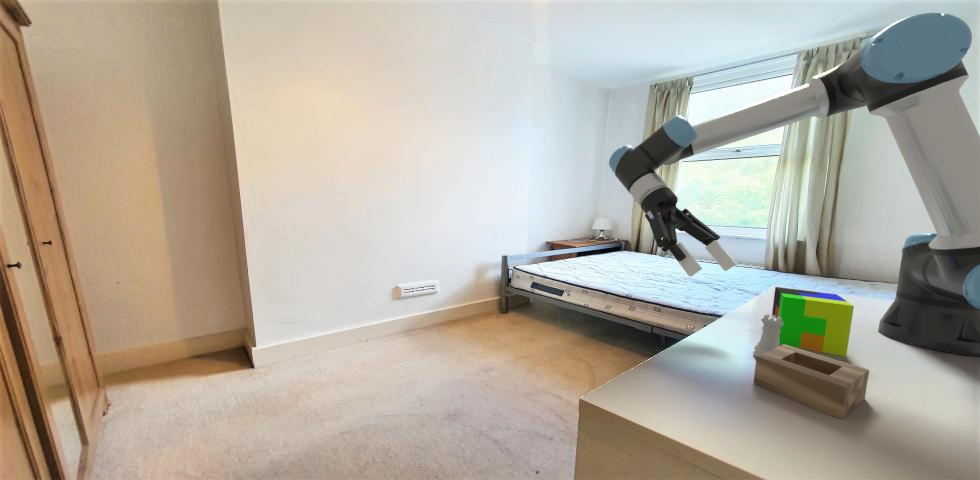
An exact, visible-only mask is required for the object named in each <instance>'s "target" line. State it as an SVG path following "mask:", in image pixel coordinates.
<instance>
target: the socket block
mask: <svg viewBox="0 0 980 480" xmlns="http://www.w3.org/2000/svg"><path fill="white" fill-rule="evenodd" d="M755 358H756V360H755V365H754V366H755V367H754V375H753V384H754V385H756V386H759V387H762V388H764V389H766V390H769V391H771V392H773V393H776V394H778V395H780V396H783V397H786V398H789V399H790V400H793V401H796V402H798V403H801V404H804V405H806V406H809V407H811V408H813V409H816V410H818V411H821V412H822V413H826V414H828V415H830V416H832V417H836V418H838V419H841V420H842V419H844V418H845V417H846V416H847V415H848V414H849V413H850V412H851V411H853V410H854V409H855V408H856V407H857V406H858V405H859V404H861V403H862V402H863V401H864V400H865V399H866V393H867V387H868V380H869V375H870V369H867V368H865V367H861V366H858V365H854V364H851V363H849V362H845V361H841V360H838V359H834V358H831V357H828V356H825V355H822V354H818V353H815V352H812V351H808V350H806V349H803V348H798V347H793V346H788V345H785V344H783V345H782V344H780V346H779V347H777V348H774V349H772V350H770V351H768V352H765V353H763V354H761V355H759V356H757V357H755Z"/></svg>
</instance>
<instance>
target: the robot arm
mask: <svg viewBox="0 0 980 480" xmlns="http://www.w3.org/2000/svg"><path fill="white" fill-rule="evenodd" d="M972 41H973V34H972V31H971V28H970V26H969V25H968V24H967V22H965V21H964V20H963V19H962V18H961V17H958V16H956V15H953V14H949V13H940V12H924V13H917V14H914V15H910V16H907V17H905V18H902V19H900V20H898V21H896V22H893V23H892V24H890V25H888V26H887V27H885V28H884V29H883V30H881V31H879V32H878V33H876V34H875V35H873V36H872V37H871V38H870V39H869V40H868V41H867V42H866V43H865V44H864V45H863V46H862V47H860V49H859V50H857V51H856V52H855V53H854V54H853V55H852V56H850V57H849V58H847V59H846V60H845V61H843V62H842V63H840V64H839V65H836V66H834V67H833V68H831V69H829V70H828V71H825V72H822V73H821V74H817V75H815V76H812V77H811V78H809V80H808V81H807V83H805V84H804V85H801V86H798V87H796V88H793V89H790V90H787V91H784V92H782V93H779V94H776V95H774V96H770V97H767V98H765V99H762V100H760V101H757V102H755V103H751V104H749V105H746V106H743V107H740V108H739V109H735V110H732V111H730V112H728V113H724V114H721V115H719V116H717V117H716V116H715V117H713V118H711V119H707V120H706V121H703V122H702V121H701V122H700V123H698V124H694V125H692V124H691V123H690V122H689V121H688V120H687V119H686V118H684V117H683V116H682V115H675V116H673V117H672V118H670V119H669V120H668V121H667V122H664V123H663V124H662V125H661V126H660V127H659V128H657V130H655V131H654V132H653V133H652V134H651V135H649V136H648V137H647V138H646V139H644V140H643V141H642V142H641V143H639V144H638V145H636V146H635V147H634V146H632V145H629V144H627V145H623V146H622V147H619V148H617V149H616V150H614V151H613V153H612V154H611V156H610V157H609V160H608V166H609V168H610V169H611V171H612V172H613V173H614V176H615V177H616V179H618V180H619V182H620V184H622V186H623V187H624V188H625V189H626V191H627V192H628V193H629V194H630V195H631V196H632V198H633V200H634V202H636V203H637V205H639V206H640V209H641V210H642V211H643V213H644V217H645V219H646V220H647V222H648V224H649V226H650V230H651V232H652V235H653V237H654V238H653V239H654V241H655V243H656V246H657V247H658V248H660V250H661V251H662V252H663V253H666V252H668V251H669V252H670V253H671V254H672V257H674V258H675V260H676V261H677V262H678V264H679V265H680V266H681V267H682V269H683V270H684V272H685V273H686V274H687V276H688V277H689V278H690V277H693V276H694V275H696V274H697V273H698V272H700V271H701V270H702V269H703V267H702V266H701V265H700V264H699V262H698V261H697V260H696V259H695V257H694V256H693V255H692V253H690V251H688V249H687V248H686V246H685V245H684V244H683V242H678V238H677V232H676V231H677V230H678V231H679V232H685V233H686V234H688V235H689V236H691V237H692V238H694V239H695V240H696V241H698V242H700V243H701V244H702V245H705V247H704V248H705V249H706V251H707V252H708V253H709V255H711V257H712V258H713V259H714V260H715V261H716V263H717V265H719V266H720V267H721V268H722V269H723V271H724V272H727V271H729V270H730V269H731V268H733V267H734V266H736V265H737V264H738V262H736V261H735V260H734V258H733V257H732V256H731V255H730V254H729V253H728V252H727V250H726V249H725V248H724V247H723V246H722V244H720V243H719V241H718V240H720V238H721V236H720V235H719V234H718V233H716V232H715V231H713V230H712V229H711V228H710V227H709V226H708V225H706V224H705V223H703V222H702V221H701V220H700V219H699V218H697V217H696V216H695V215H693V213H692V212H691V211H689V210H688V209H687V208H683V209H682V210H681V209H679V208H678V207H677V203H678V201H679V199H678V196H677V195H676V194H675V193H674V192H673V190H672V189H671V188H670V187H668V185H667V183H666V182H665V181H664V180H663V179H662V177H660V175H658V173H657V172H656V170H657V169H659V168H660V167H662V166H663V165H664V166H668V165H669V166H670V165H674V164H676V163H678V162H679V161H681V160H684V159H688V158H690V157H693V156H696V155H699V154H701V153H705V152H708V151H711V150H713V149H717V148H720V147H724V146H726V145H727V146H728V145H729V144H733V143H736V142H739V141H742V140H745V139H748V138H751V137H754V136H757V135H760V134H763V133H767V132H770V131H772V130H775V129H779V128H782V127H784V126H788V125H791V124H793V123H798V122H801V121H803V120H807V119H809V118H814V117H816V118H819V119H823V118H827V117H829V116H834V115H837V114H840V113H843V112H847V111H852V110H856V109H860V108H864V107H866V108H867V110H868V112H869V114H870V115H874V116H876V117H877V116H878V117H882V118H884V119H885V120H886V122H887V123H886V124H888V127H889V129H890V131H891V134H892V136H893V138H894V140H895V143H896V145H897V147H898V149H899V152H900V154H901V157H902V158H903V161H904V162H905V165H906V167H907V169H908V171H909V174H910V177H911V179H912V181H913V182H914V185H915V187H916V189H917V191H918V194H919V196H920V198H921V201H922V203H923V205H924V208H925V210H926V212H927V215H928V216H929V218H930V221H931V223H932V225H933V227H934V230H935V232H936V233H929V232H925V233H913V234H911V235H909V236H908V237H906V238H905V241H904V245H903V246H902V249H901V254H902V255H901V260H900V266H899V273H898V280H897V286H896V292H895V298H894V301H893V302H892V303H891V305H890V306H889V307H888V309H887V310H886V312H885V313H884V314H883V316H882V317H881V318H880V320H879V322H878V332H879V333H880V334H883V335H884V336H886V337H888V338H892V339H894V340H897V341H901V342H903V343H907V344H911V345H913V346H914V345H915V346H917V347H923V348H926V349H931V350H936V351H940V352H946V353H952V354H959V355H965V356H974V357H975V356H976V357H977V356H978V357H980V134H979V132H978V129H977V127H976V125H975V123H974V121H973V118H972V116H971V114H970V112H969V110H968V108H967V106H966V103H965V102H964V100H963V97H962V95H961V94H960V90H961V88H962V87H963V85H964V84H965V83H966V82H967V80H968V79H969V78H970V75H969V73H968V71H967V69H966V66H965V65H964V62H963V58H964V57H965V56H966V55H967V53H968V50H969V49H970V48H971V46H972V43H973V42H972Z"/></svg>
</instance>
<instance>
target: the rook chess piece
mask: <svg viewBox="0 0 980 480" xmlns="http://www.w3.org/2000/svg"><path fill="white" fill-rule="evenodd" d="M760 321H761V322H762V324H763V326H762V327H761V329H762V334H761V337H760V340H759V341H758V342H757V343H756V345H755V346H754V348H753V350H754V351H753V352H752V353H753V355H754V356H755V358H757V356H759V355H761V354H763V353H765V352H768V351H770V350H772V349H774V348H777V347H779V346H781V344H780V340H779V335H780V333H781V330H780V327H781V326H783V325H784V323H783V322H782V318H781V317H779V316H777V318H775V315H772V314H771V315H770V314H764V315H763V317H762V318H761V319H760Z"/></svg>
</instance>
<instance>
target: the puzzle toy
mask: <svg viewBox="0 0 980 480" xmlns="http://www.w3.org/2000/svg"><path fill="white" fill-rule="evenodd" d="M771 313H772V314H771V316H772V315H775V318H777V316H779V317H781V318H782V322H783V323H784V325H783V326H781V327H780V330H781V333H780V335H779V340H780V345H783V344H785V345H788V346H792V347H795V348H798V349H802V350H809V351H815V352H819V353H825V354H831V355H836V356H842V357H847V355H848V353H847V352H848V347H849V341H850V336H851V335H850V333H851V328H852V321H853V314H854V304H852V303H851V302H849V301H847V300H846V299H844V298H843V297H842V296H840V295H838V294H836V293H830V292H820V291H811V290H806V289H805V290H804V289H796V288H789V287H788V288H787V287H779V286H775V288H774V295H773V305H772V312H771Z"/></svg>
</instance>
